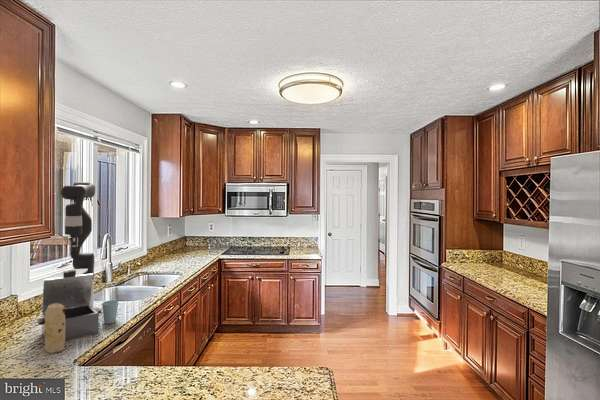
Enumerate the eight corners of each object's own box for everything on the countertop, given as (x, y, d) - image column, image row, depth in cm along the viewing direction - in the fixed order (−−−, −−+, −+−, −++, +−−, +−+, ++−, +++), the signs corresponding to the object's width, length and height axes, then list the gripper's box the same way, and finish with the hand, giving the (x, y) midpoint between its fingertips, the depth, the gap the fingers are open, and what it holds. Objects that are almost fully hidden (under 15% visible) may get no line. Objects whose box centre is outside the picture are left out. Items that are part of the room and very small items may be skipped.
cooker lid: (41, 312, 171) (41, 310, 172) (89, 304, 185) (88, 301, 186) (44, 274, 165) (43, 272, 167) (93, 269, 180) (92, 266, 181)
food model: (69, 349, 153) (70, 303, 153) (53, 355, 147) (54, 308, 147) (55, 345, 157) (56, 301, 157) (39, 351, 151) (39, 305, 151)
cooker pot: (35, 334, 169) (35, 314, 169) (95, 322, 187) (95, 303, 186) (40, 346, 156) (41, 324, 156) (104, 331, 173) (104, 311, 173)
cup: (118, 318, 193) (118, 299, 193) (118, 322, 187) (118, 303, 186) (102, 320, 189) (102, 301, 189) (102, 325, 183) (102, 305, 183)
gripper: (64, 223, 183) (64, 255, 183) (64, 226, 171) (64, 259, 171) (81, 223, 187) (81, 253, 187) (83, 225, 175) (82, 258, 175)
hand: (73, 256), depth 179 cm, fingers open, 8 cm apart
